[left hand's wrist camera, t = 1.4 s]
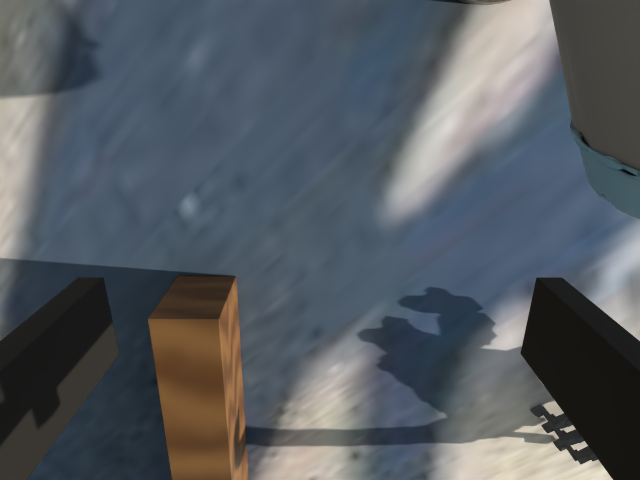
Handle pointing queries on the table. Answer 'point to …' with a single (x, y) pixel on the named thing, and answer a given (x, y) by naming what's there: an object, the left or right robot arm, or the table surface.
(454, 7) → the table surface
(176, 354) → the bar
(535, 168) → the table surface
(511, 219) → the table surface
